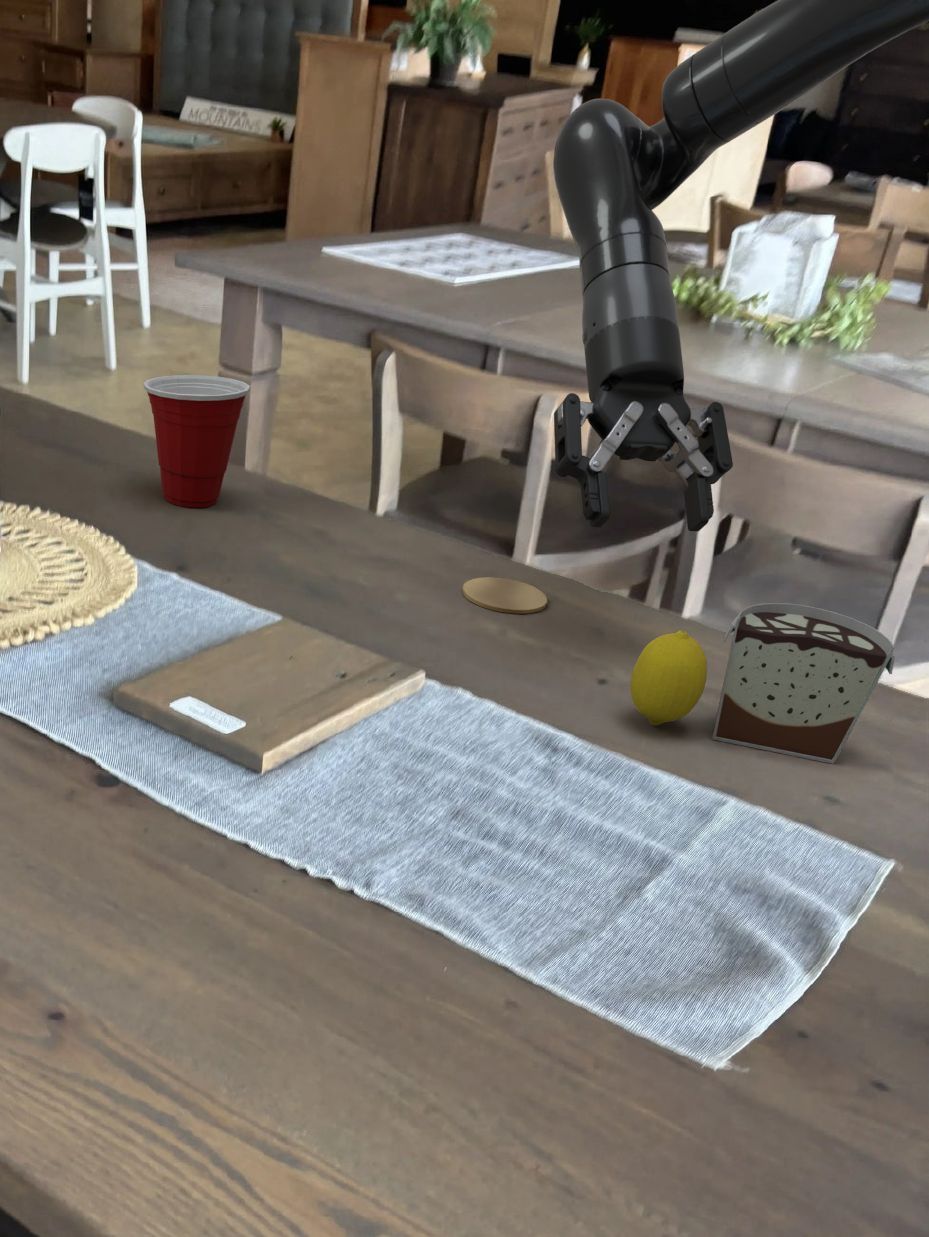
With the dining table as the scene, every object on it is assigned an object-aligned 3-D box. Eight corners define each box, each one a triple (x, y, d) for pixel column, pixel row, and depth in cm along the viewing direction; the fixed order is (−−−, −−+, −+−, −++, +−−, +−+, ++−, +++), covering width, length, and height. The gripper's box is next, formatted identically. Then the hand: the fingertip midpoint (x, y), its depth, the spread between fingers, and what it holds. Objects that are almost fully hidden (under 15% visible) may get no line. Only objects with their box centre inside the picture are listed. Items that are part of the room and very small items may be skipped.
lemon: (614, 729, 106) (640, 634, 101) (626, 703, 110) (652, 611, 105) (684, 748, 104) (714, 652, 100) (694, 720, 108) (723, 628, 104)
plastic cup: (186, 476, 148) (194, 362, 141) (260, 503, 143) (272, 387, 136) (116, 493, 141) (121, 374, 134) (191, 523, 136) (200, 401, 129)
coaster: (529, 582, 131) (530, 578, 131) (558, 615, 125) (559, 610, 124) (451, 579, 130) (452, 576, 129) (476, 612, 123) (477, 608, 123)
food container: (846, 734, 109) (892, 619, 103) (853, 768, 104) (902, 648, 98) (692, 704, 111) (729, 589, 105) (693, 735, 106) (731, 616, 100)
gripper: (568, 306, 105) (587, 500, 102) (735, 318, 108) (757, 507, 105) (531, 361, 112) (548, 543, 110) (688, 371, 115) (707, 548, 112)
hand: (650, 525), depth 107 cm, fingers open, 8 cm apart
